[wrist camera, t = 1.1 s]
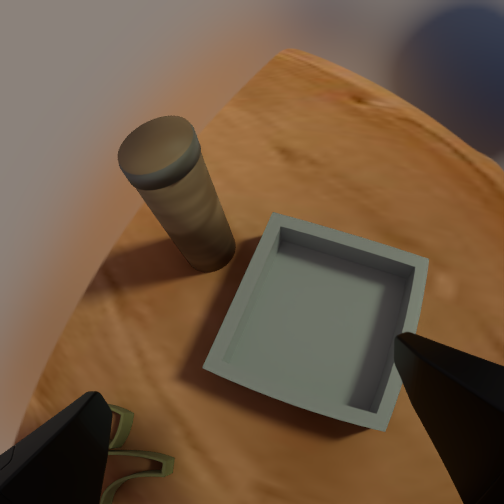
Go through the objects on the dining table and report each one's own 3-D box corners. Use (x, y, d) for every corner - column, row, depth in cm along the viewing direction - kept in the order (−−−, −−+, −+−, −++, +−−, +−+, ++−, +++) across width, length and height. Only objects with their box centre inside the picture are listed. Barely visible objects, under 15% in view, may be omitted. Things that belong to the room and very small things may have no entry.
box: (373, 427, 17) (385, 431, 15) (214, 371, 21) (202, 367, 18) (416, 275, 22) (429, 259, 19) (275, 232, 26) (272, 212, 23)
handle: (222, 280, 24) (163, 178, 13) (176, 263, 26) (101, 166, 15) (245, 233, 26) (208, 117, 15) (199, 220, 27) (146, 113, 16)
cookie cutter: (143, 578, 12) (133, 586, 10) (47, 515, 15) (35, 518, 13) (188, 436, 19) (179, 439, 17) (75, 378, 22) (62, 375, 20)
